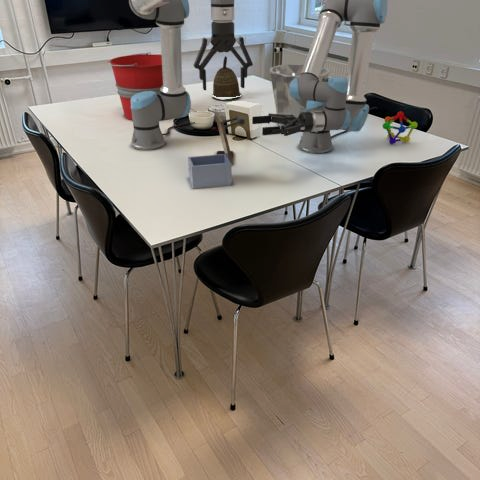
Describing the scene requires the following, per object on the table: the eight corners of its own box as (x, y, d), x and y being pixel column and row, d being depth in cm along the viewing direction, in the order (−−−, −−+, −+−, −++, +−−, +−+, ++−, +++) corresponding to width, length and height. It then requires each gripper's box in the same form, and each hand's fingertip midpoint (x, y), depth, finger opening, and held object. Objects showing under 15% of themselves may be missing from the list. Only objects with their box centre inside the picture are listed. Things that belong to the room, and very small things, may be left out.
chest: (193, 188, 167) (191, 166, 162) (189, 178, 175) (187, 156, 170) (231, 184, 170) (231, 163, 165) (226, 174, 178) (225, 153, 173)
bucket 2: (296, 138, 215) (301, 78, 201) (255, 124, 234) (256, 68, 219) (335, 125, 232) (342, 70, 217) (294, 113, 251) (297, 61, 236)
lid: (220, 121, 156) (244, 114, 157) (214, 113, 164) (237, 107, 165) (230, 162, 165) (253, 155, 166) (224, 152, 173) (246, 146, 174)
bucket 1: (123, 105, 263) (116, 51, 247) (182, 106, 262) (179, 52, 247) (107, 123, 234) (97, 63, 218) (173, 124, 233) (168, 64, 217)
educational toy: (377, 146, 209) (379, 114, 202) (384, 138, 219) (386, 107, 211) (411, 149, 202) (415, 116, 195) (417, 141, 212) (420, 109, 204)
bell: (227, 105, 294) (202, 96, 282) (238, 66, 289) (213, 55, 277) (243, 108, 280) (217, 98, 268) (255, 66, 275) (229, 55, 263)
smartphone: (215, 163, 186) (217, 150, 198) (215, 165, 186) (217, 152, 199) (232, 163, 186) (233, 150, 198) (232, 165, 186) (233, 152, 199)
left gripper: (186, 23, 138) (190, 92, 149) (262, 21, 143) (260, 88, 155) (183, 20, 144) (186, 87, 156) (256, 19, 150) (255, 84, 161)
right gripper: (322, 142, 162) (266, 146, 157) (298, 121, 182) (248, 125, 178) (324, 121, 158) (267, 125, 153) (299, 103, 178) (248, 106, 174)
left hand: (223, 88), depth 155 cm, fingers open, 13 cm apart
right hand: (257, 125), depth 165 cm, fingers open, 13 cm apart
